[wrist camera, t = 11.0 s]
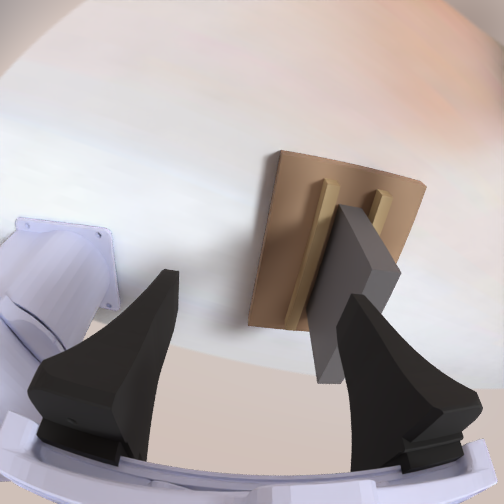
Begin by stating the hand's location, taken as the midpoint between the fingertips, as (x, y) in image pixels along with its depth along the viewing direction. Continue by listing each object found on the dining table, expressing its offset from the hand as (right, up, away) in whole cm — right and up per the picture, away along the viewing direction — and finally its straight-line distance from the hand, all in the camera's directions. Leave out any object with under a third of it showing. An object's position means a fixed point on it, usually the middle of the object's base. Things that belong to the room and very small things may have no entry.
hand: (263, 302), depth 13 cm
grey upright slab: (+5, +1, +9) cm, 11 cm away
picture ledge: (+5, +2, +10) cm, 11 cm away
